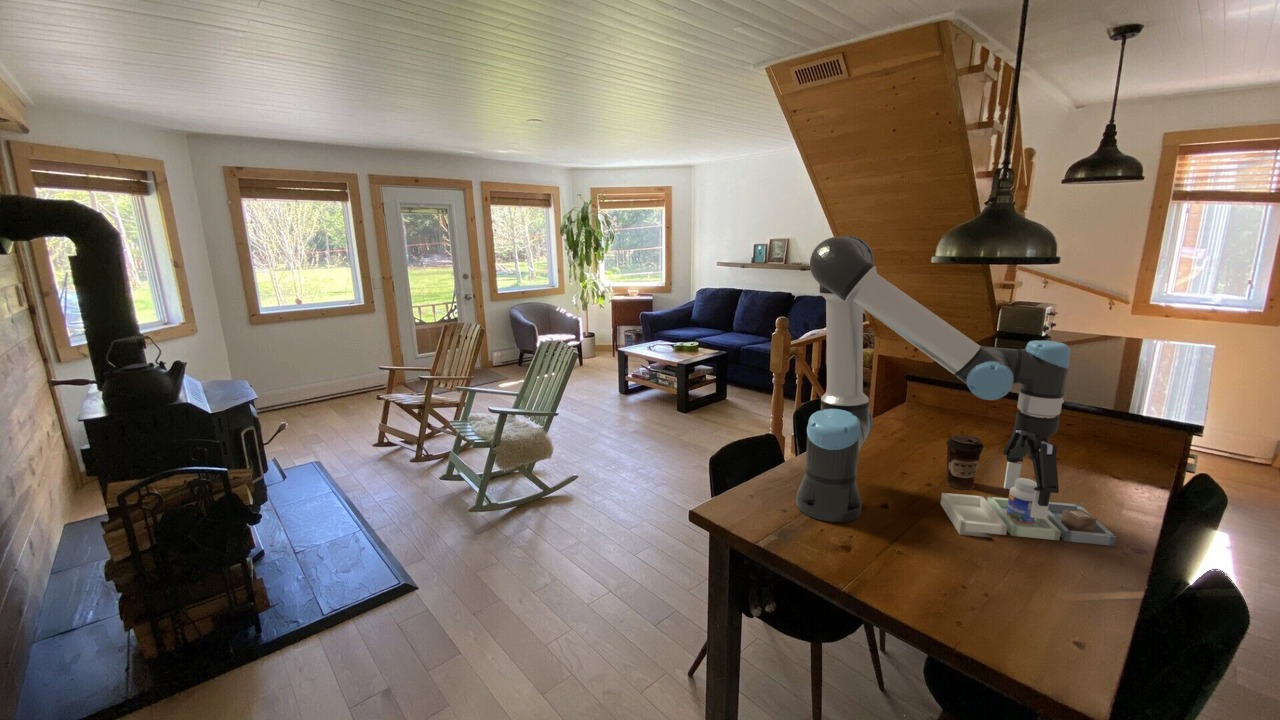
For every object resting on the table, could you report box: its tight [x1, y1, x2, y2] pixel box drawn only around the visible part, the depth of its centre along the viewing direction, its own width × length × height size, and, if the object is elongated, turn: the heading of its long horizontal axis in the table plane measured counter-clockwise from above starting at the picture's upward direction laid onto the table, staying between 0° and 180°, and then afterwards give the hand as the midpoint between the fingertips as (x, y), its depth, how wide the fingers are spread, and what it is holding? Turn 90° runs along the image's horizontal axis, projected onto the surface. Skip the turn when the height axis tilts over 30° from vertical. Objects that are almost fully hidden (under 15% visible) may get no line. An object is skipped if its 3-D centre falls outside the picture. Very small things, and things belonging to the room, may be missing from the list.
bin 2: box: [1047, 501, 1117, 547], centre depth 118 cm, size 9×14×3 cm, turn 166°
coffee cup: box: [945, 434, 985, 490], centre depth 139 cm, size 9×8×13 cm
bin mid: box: [986, 496, 1061, 541], centre depth 120 cm, size 9×14×3 cm, turn 166°
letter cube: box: [1061, 509, 1098, 533], centre depth 116 cm, size 4×4×4 cm
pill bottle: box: [1006, 477, 1037, 526], centre depth 119 cm, size 5×5×10 cm
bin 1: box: [940, 492, 1008, 538], centre depth 123 cm, size 9×14×3 cm, turn 166°
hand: (1023, 502), depth 119 cm, fingers open, 13 cm apart
